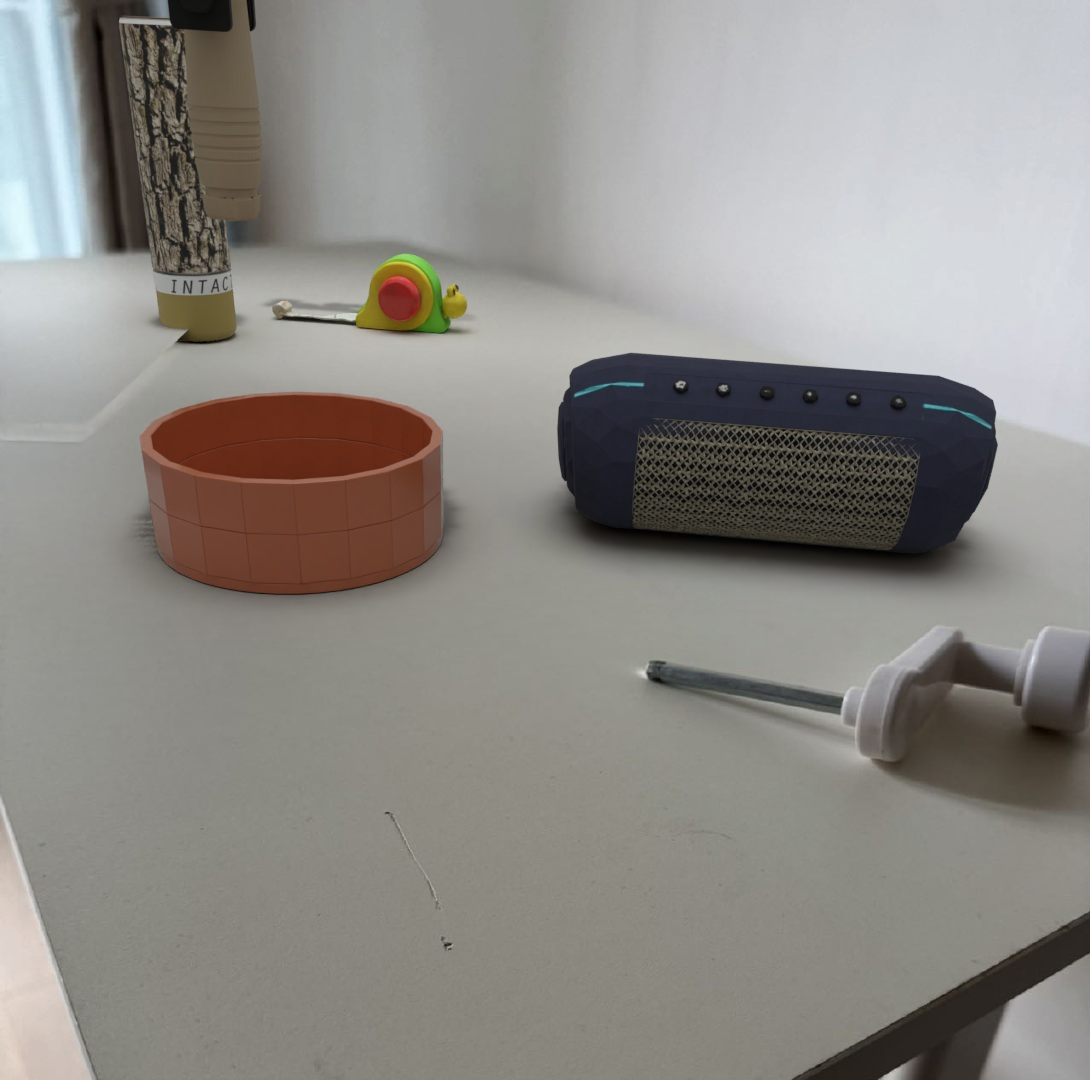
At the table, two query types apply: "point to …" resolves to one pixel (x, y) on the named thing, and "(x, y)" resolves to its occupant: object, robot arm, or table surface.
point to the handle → (225, 117)
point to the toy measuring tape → (400, 299)
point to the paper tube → (175, 186)
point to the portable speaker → (775, 451)
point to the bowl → (295, 490)
